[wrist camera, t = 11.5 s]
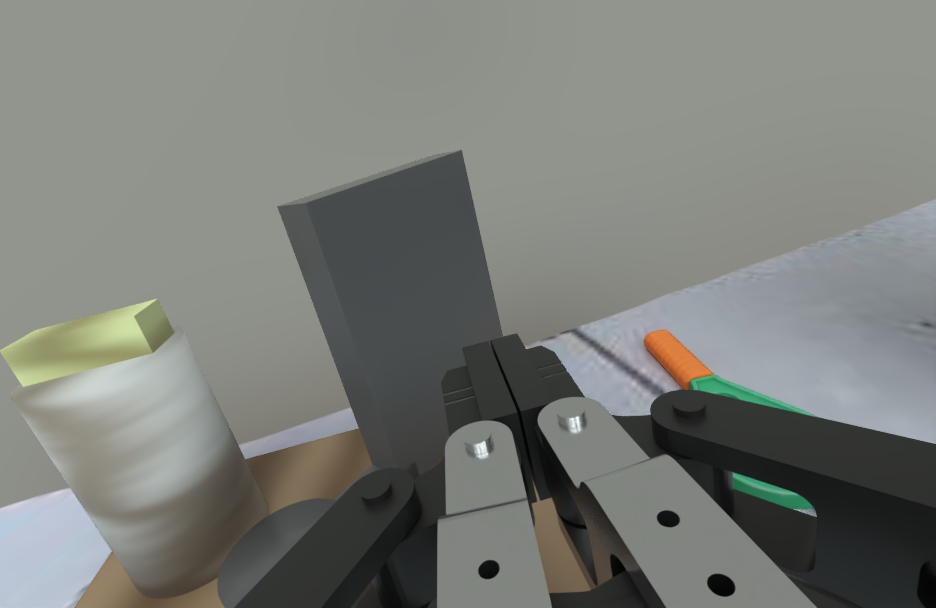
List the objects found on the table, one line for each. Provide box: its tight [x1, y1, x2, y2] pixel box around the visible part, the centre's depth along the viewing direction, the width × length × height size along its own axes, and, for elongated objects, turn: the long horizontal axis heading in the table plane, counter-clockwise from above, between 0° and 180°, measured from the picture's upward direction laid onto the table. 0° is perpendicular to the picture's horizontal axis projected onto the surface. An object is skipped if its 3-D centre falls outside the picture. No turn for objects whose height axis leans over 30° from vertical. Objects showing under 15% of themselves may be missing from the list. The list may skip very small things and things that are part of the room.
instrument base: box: [0, 299, 591, 608], centre depth 20 cm, size 24×16×14 cm, turn 98°
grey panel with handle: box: [217, 150, 503, 608], centre depth 21 cm, size 16×5×14 cm, turn 143°
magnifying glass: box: [644, 330, 816, 509], centre depth 27 cm, size 15×6×2 cm, turn 5°
